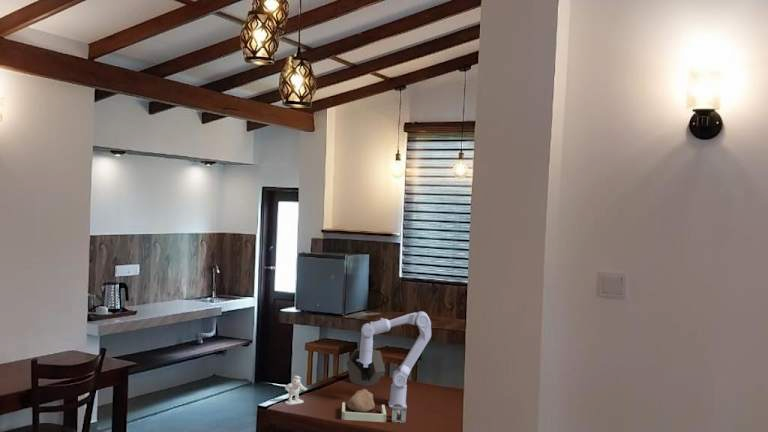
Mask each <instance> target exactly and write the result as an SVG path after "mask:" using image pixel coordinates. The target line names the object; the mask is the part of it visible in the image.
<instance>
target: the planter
mask: <svg viewBox="0 0 768 432" xmlns="http://www.w3.org/2000/svg"><path fill="white" fill-rule="evenodd" d="M359 356H360V348H355V350H353V352H352V354H351V355H350V357H349V359H348V360H347V361H346V366H347V367H346V368H347V372H348V375H349V379H350V383H351V384H354V385H358V386H363V387H366V388H367V387H372V386H376V385H377V384H378V382H379V381H380V379H381V378H382V376H383V375H384V373H385V372H386V368H385V363H384V360H383V356H382V352H381V350H376V349H373V350H372V363H370V364H371V368H370V370H369V373H368V377H367V380H366V381H362V379H361V370H360V367H359V364H362V363H361V362H359V361H357V359H359Z"/></svg>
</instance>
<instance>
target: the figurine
mask: <svg viewBox="0 0 768 432" xmlns="http://www.w3.org/2000/svg"><path fill="white" fill-rule="evenodd" d="M301 380H302V377H301V376H300V375H294V376H293V379H292V382H291V383H288V384H286V385H285V386H284V389H285V391H286V392H287V393H288V400H286V401H285V402H284V404H285V405H286V406H287V405H288V406H291V405H299V404H303V403H304V399H300V396H299V395H300V394H299V393H300V392H301V391H305V392H306V391H307V390H308V388H306V387H305V386H304V385H303V384H302V382H301ZM293 396H294V399H293Z"/></svg>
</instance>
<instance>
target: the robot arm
mask: <svg viewBox="0 0 768 432" xmlns="http://www.w3.org/2000/svg"><path fill="white" fill-rule="evenodd" d="M415 323H416V325H417V327H418V330H419V336H418V337H417V339H416V341H415V342H414V344H413V346H412V347H411V348H410V350H409V352H408V353H407V355H406V357H405V358H404V360H403V362H402V363H401V364H400V365H399V367H398V368H397V369H396V370H394V371H393V373H392V376H391V377H392V383H391V384H390V392H389V393H390V394H389V400H388V401H387V403H388V407H389V408H392V407H393V406H394V405H396V404H400V405H402V406H403V407H406V409H407V408H408V406H407V390H408V389H407V388H408V385H407V381H408V377H409V375H410V373H411V371H412V369H413V367H414V366H415V364H416V362H418V361H417V360H418V359H419V357H420V356H421V354H422V352H423V351H424V350H425V347H426V346H427V344H428V343H429V341H430V340H431V337H432V321H431V319H430V316H428V313H426V312H425V311H422V310H420V311H418V312H416V311H415V312H411V313H407V314H405V315H402V316H398V317H395V318H393V319H388V318H383V317H380V319H379V320H375V321H370V323H368V322H367V323H364V324H363V325H362V327H361V329H360V332H361V337H360V344H359V345H360V346H359V349H360V356H359V359H357V361H359V362H361V363H362V364H359V367H360V370H361V379H362V381H366V380H367V377H368V373H369V370H370V368H371V364H370V363H372V350H374V349H373V347H374V340H373V339H374V335H379V334H382V333H386V332H389V331H390V330H391V328H393V327H396V326H401V325H405V324H411V325H415Z"/></svg>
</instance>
